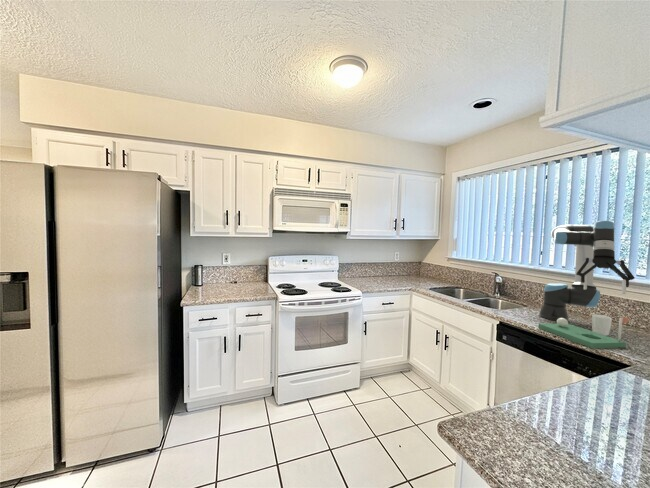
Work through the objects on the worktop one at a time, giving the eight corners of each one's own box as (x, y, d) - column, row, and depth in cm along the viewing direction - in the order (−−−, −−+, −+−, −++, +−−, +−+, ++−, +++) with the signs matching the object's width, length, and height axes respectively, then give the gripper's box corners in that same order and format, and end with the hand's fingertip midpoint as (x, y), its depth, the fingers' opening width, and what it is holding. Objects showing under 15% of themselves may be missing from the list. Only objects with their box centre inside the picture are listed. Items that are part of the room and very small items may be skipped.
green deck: (570, 327, 162) (572, 303, 162) (629, 347, 135) (631, 318, 134) (538, 327, 159) (540, 303, 158) (592, 348, 131) (594, 319, 131)
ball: (561, 325, 158) (561, 316, 158) (570, 328, 153) (570, 319, 153) (554, 325, 157) (554, 316, 157) (562, 328, 153) (563, 319, 152)
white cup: (614, 336, 149) (616, 319, 149) (597, 335, 150) (599, 317, 150) (602, 331, 157) (604, 314, 156) (587, 330, 158) (588, 313, 158)
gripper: (572, 246, 142) (571, 286, 137) (643, 249, 127) (644, 294, 123) (569, 250, 148) (568, 288, 143) (637, 254, 133) (638, 296, 128)
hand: (604, 291), depth 133 cm, fingers open, 13 cm apart
